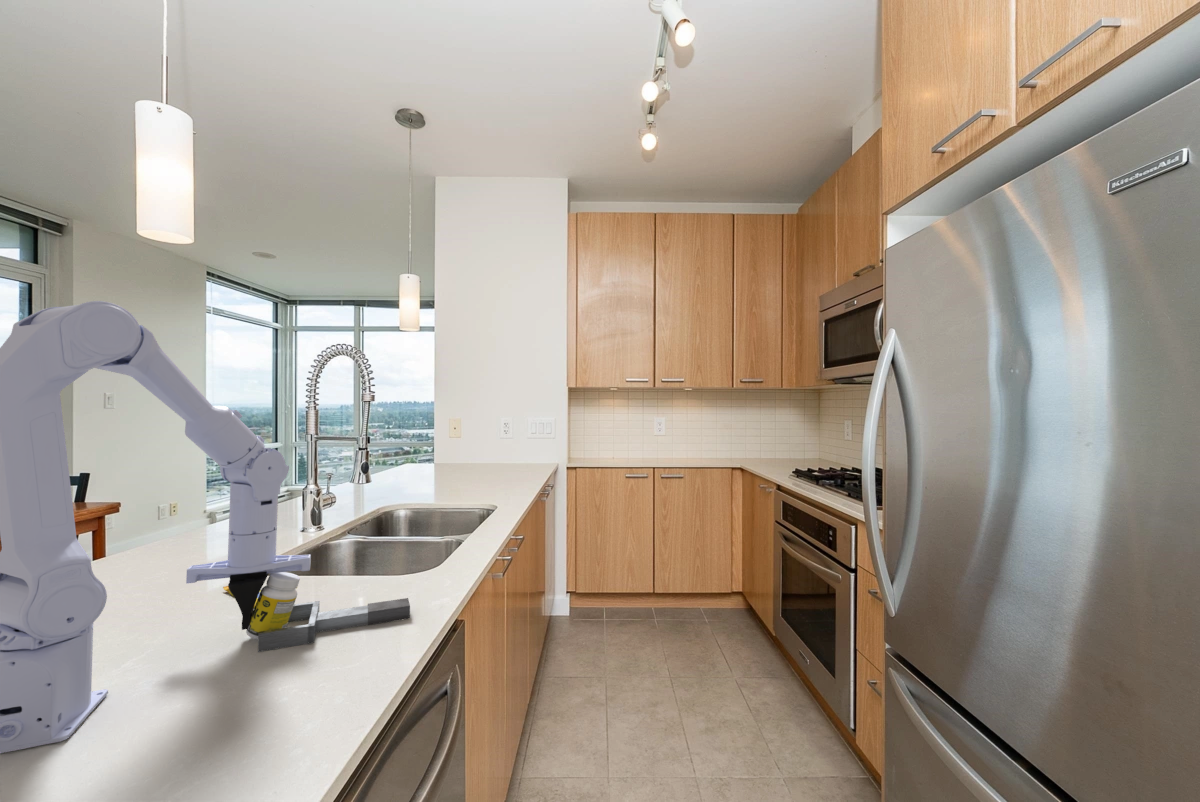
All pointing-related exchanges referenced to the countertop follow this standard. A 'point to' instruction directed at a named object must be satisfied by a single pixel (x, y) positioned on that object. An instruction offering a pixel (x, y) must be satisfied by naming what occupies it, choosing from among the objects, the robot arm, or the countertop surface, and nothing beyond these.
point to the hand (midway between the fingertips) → (250, 626)
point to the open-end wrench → (330, 622)
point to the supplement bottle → (274, 603)
